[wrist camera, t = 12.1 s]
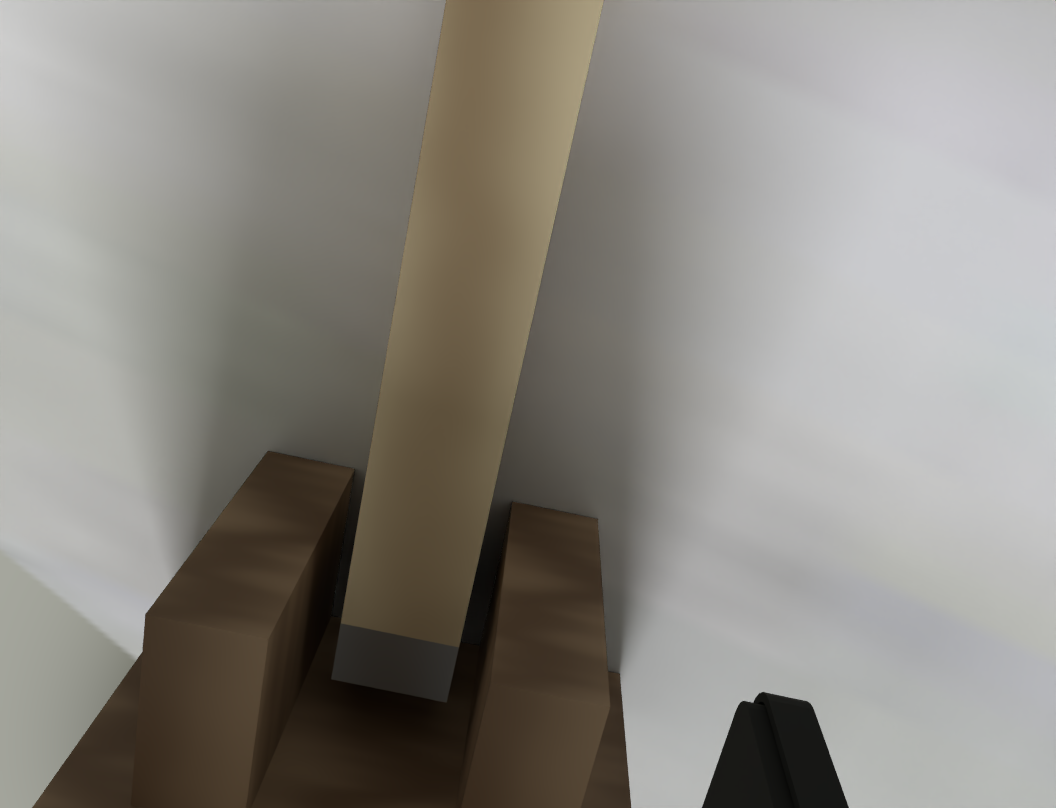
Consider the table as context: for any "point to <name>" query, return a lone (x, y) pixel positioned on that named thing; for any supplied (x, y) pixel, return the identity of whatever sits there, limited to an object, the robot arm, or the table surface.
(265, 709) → the wooden slotted stand
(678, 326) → the table surface
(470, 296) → the bed rail
